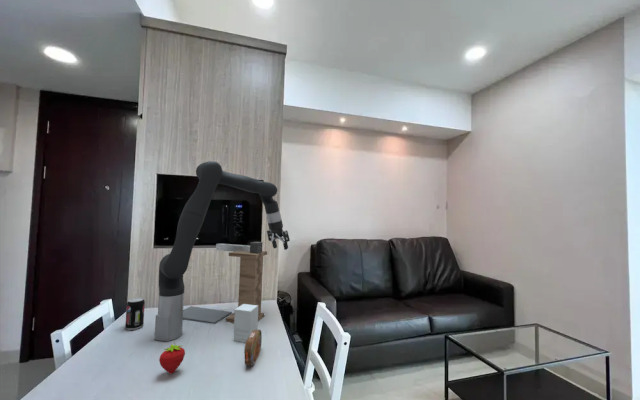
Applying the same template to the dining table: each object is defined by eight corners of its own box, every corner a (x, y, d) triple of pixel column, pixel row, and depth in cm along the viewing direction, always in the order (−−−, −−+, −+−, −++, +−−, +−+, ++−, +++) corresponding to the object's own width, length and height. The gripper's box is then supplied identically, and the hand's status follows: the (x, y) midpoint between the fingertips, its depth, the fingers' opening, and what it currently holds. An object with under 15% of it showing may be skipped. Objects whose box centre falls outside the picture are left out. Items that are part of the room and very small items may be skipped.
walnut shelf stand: (252, 325, 126) (255, 255, 127) (225, 321, 129) (228, 252, 131) (264, 316, 138) (267, 251, 139) (239, 312, 141) (241, 249, 142)
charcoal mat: (214, 324, 126) (214, 322, 126) (170, 317, 132) (170, 315, 132) (231, 313, 140) (231, 311, 140) (190, 307, 146) (191, 306, 146)
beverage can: (141, 329, 118) (143, 301, 118) (122, 331, 116) (124, 302, 116) (144, 323, 124) (146, 296, 125) (127, 325, 122) (129, 297, 122)
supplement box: (258, 335, 116) (259, 305, 117) (249, 343, 109) (250, 311, 110) (242, 333, 118) (243, 303, 119) (232, 340, 111) (234, 308, 112)
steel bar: (257, 253, 131) (257, 243, 131) (214, 250, 136) (215, 240, 137) (262, 252, 136) (262, 242, 136) (220, 249, 141) (221, 239, 142)
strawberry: (154, 375, 87) (156, 342, 87) (179, 365, 93) (180, 334, 93) (163, 382, 83) (164, 349, 84) (187, 371, 89) (189, 340, 89)
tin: (251, 370, 91) (252, 344, 91) (241, 370, 91) (243, 344, 91) (262, 348, 106) (262, 325, 106) (253, 347, 106) (254, 325, 106)
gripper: (260, 222, 149) (267, 250, 152) (278, 222, 140) (285, 252, 143) (270, 217, 155) (276, 244, 158) (288, 218, 146) (294, 246, 149)
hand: (280, 248), depth 151 cm, fingers open, 8 cm apart
